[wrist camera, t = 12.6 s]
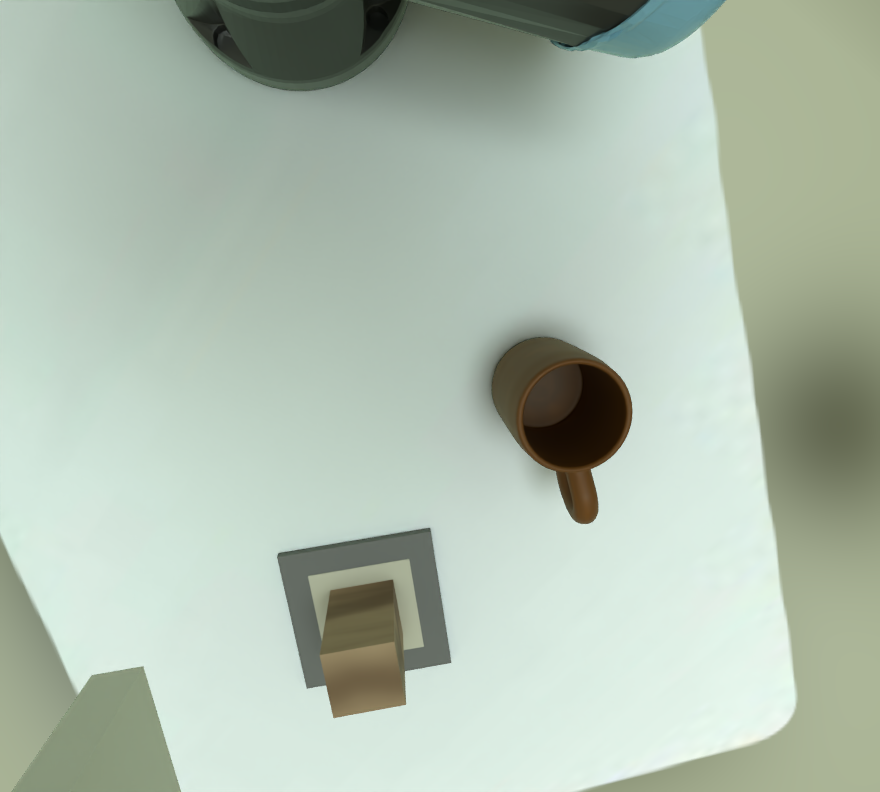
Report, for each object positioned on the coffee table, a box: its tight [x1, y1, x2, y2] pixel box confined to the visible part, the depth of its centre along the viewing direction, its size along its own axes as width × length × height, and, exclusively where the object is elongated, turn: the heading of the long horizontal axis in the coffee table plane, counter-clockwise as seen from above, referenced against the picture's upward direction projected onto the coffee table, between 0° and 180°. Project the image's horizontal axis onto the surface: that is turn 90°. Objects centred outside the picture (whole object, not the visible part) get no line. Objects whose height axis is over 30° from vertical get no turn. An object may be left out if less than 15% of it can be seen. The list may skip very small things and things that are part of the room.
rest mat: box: [277, 528, 451, 688], centre depth 50 cm, size 12×12×1 cm
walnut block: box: [320, 579, 406, 718], centre depth 45 cm, size 5×5×8 cm
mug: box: [492, 337, 632, 524], centre depth 43 cm, size 12×8×9 cm, turn 12°
